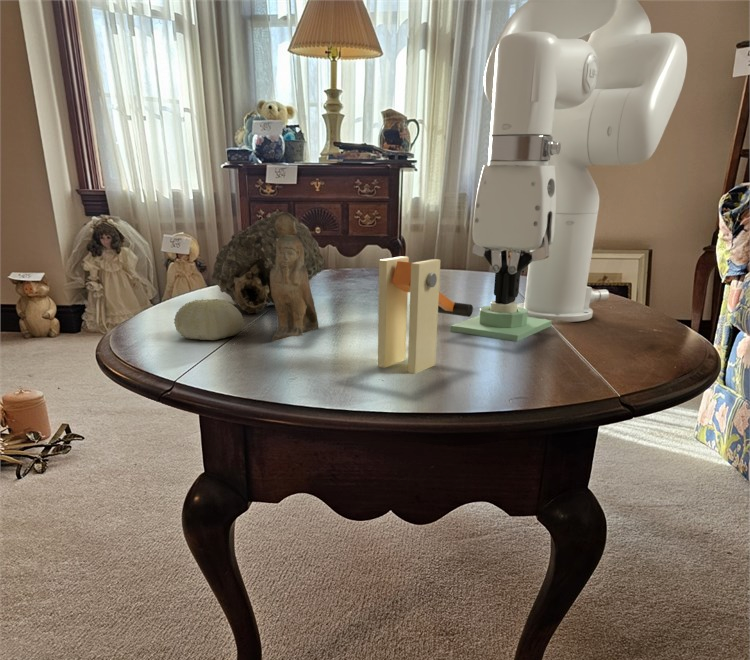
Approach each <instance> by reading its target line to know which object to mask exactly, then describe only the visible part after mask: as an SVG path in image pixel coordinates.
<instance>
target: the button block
mask: <svg viewBox="0 0 750 660" xmlns="http://www.w3.org/2000/svg"><path fill="white" fill-rule="evenodd" d="M490 309H491V305H485V306H482V307H480V308H479V311H478V312H479V313H478V315H476V316H474V317H470V318H467V319H465V320H462V321H460V322H456V323H454V324H451V325H450V328H449V329H450V330H449V331H450V332H452V333H453V332H454V333H460V334H466V335H474V336H478V337H479V336H480V337H484V338H485V337H486V338H493V339H499V340H505V341H512V342H519V341H522V340H523V339H526V338H528V337H530V336H532V335H535V334H537V333H539V332H541V331H544V330H545V329H548V328H550V327H551V326H552V324H553V320H549V319H541V318H534V317H527V315H528V311H527V310H526V309H524V308H520V307H517V312H512V313H500V312H493V311H490Z"/></svg>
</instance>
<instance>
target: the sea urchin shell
mask: <svg viewBox="0 0 750 660" xmlns="http://www.w3.org/2000/svg"><path fill="white" fill-rule="evenodd" d="M173 320H174V322H173V324H174V328H175V330H176V331H177V333H178V334H179V335H181V336H182V337H184V338H185V339H191V340H200V341H212V342H213V341H217V340H220V339H225V338H229V337H233V336H236V335H237V334H239V333H240V332H241V331H242V329H243V327H244V318H243V315H242V313H241V311H240V310H239V309H238V308H237V307H236V306H235V305H234V304H232V303H231V302H229V301H227V300H224V299H219V298H213V299H212V298H211V299H208V298H207V299H195V300H191V301H188V302H186V303H185V304H184V305H182V306H181V307H180V308H179V309H178V310H177V312H176V314H175V315H174V319H173Z"/></svg>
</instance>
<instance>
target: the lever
mask: <svg viewBox="0 0 750 660" xmlns="http://www.w3.org/2000/svg"><path fill="white" fill-rule="evenodd" d="M411 263H413V262H411V261H409V262H402V261H397V265H396V269H395V273H394V277H393V281H392V284H394V285H395V286H397V287H398V288H400V289H401V290H402V291H404V292H408V293H410V285H411ZM473 310H474V307H473V304H471V303H462V302H454V301H452V300H451V299H450V298H448V297H447V296H445V295H444V294H443V293H442V292H440V291H439V300H438V314H445V315H452V316H460V317H467V318H469V317H470V318H471V316H472V315H473Z"/></svg>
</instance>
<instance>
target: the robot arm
mask: <svg viewBox="0 0 750 660" xmlns="http://www.w3.org/2000/svg"><path fill="white" fill-rule="evenodd" d="M589 34H590V36H589V37H588V40H587V41H586V40H585V39H582V38H583V37H585V36H587V35H589ZM687 66H688V50H687V46H686V43H685V42H684V39H683V38H682V37H681V36H680V35H678V34H677V33H673V32H652V25H651V21H650V19H649V16H648V14H647V13H646V11H645V9H644V8H643V6H642V4H641V3H640V2H639V1H638V0H527V1H526V2H525V3H523V4H522V5H521V6H519V8H518V9H516V10H515V11H514V12H513V13H512V14H511V15H510V17H509V18H508V19H507V21H506V22H505V23H504V25H503V27H502V28H501V31H500V33H499V35H498V36H497V39H496V40H495V42H494V44H493V47H492V48H491V50H490V53H489V55H488V58H487V61H486V66H485V70H484V76H483V87H484V94H485V97H486V100H487V101H488V103H489V104H490V105H491V119H490V130H489V131H490V132H489V142H488V143H489V145H488V155H487V156H488V160H487V164H485V165H483V167H482V170H481V173H480V177H479V181H478V187H477V190H476V191H477V192H476V198H475V203H474V210H473V219H472V233H471V234H472V241H473V245H472V248H471V250H472V251H471V252H472V254H474V255H476V256H478V257H481V258H484V259H486V261H487V262H488V263H489V265H490V266H491V270H492V272H493V273H494V283H493V295H494V296H495V300H494V301H495V302H496V303H503V304H509V303H512V302H516V298H518V296H519V292H520V281H521V273H522V272H523V271H525V268H526V267H527V275H526V286H525V295H524V302H520V303H517V307H520V308H524V309H526V310H527V311H528V315H527V317H530V318H538V319H546V320H552V321H557V322H564V323H565V322H566V323H578V322H579V323H580V322H585V321H589V320H590V319H593V315H594V309H592V308H591V307H590V305H592V304H593V303H594V302H595V303H602V302H607V301H608V300H609V298H610V292H609V290H608V289H596V290H593V288H592V287H591V286H588V280H589V275H590V268H591V262H592V255H593V248H594V241H595V235H596V229H597V222H598V215H599V209H600V194H599V190H598V187H597V185H596V183H595V181H594V179H593V176H592V175H591V173H590V171H589V169H588V167H593V166H636V165H640V164H643V163H645V162H646V161H648V160H649V159H650V158H651V157H652V156H653V154H654V153H655V151H656V150H657V148H658V146H659V144H660V141H661V139H662V137H663V135H664V132H665V130H666V129H667V125H668V123H669V121H670V118H671V116H672V114H673V112H674V109H675V107H676V105H677V102H678V99H679V98H680V95H681V92H682V89H683V85H684V82H685V78H686V74H687V68H688V67H687ZM509 250H512V251H511V254H510V258H509Z"/></svg>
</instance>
